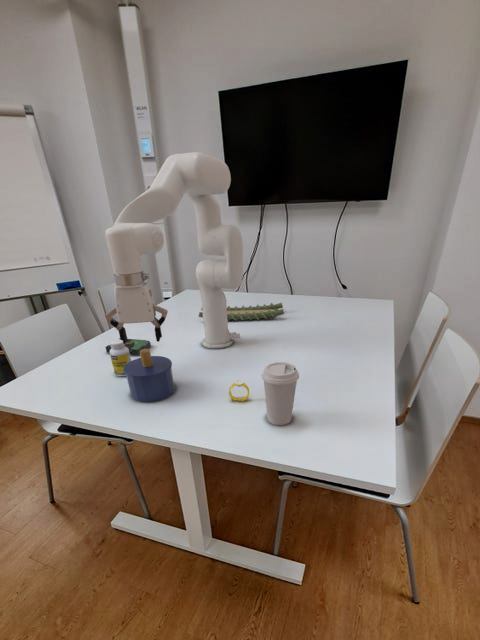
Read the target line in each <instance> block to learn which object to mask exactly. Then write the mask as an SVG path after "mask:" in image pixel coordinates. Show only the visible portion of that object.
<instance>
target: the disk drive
mask: <svg viewBox="0 0 480 640" xmlns="http://www.w3.org/2000/svg"><path fill="white" fill-rule="evenodd" d="M118 339H120V337H119V338H118ZM127 339H128V340H127V342H126V344H125V345H124V346H125V347H127V348H128V349H129V353H130V356H141V355H140V350H142V349H150V348H151V346H152V343H151V341H150V340H147V339H136V338H127ZM111 349H112V347H111V346H110V344H108V345H106V346H105V351H106V353H108V354H110V350H111Z"/></svg>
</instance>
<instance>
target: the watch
mask: <svg viewBox="0 0 480 640" xmlns="http://www.w3.org/2000/svg"><path fill="white" fill-rule="evenodd" d="M233 387H237V388H240V387H243V388H245V389H246V391H247V394H246V396H244V397H235V396H234V395H233V394H232V391H231V390H232V388H233ZM228 395H229V397H230V399H232V400H233V401H238V402H244V401H247V399H248V398H249V397H250V387H249V386H248V385H247V384H246V383H245V382H244V380H242V379H241V380H239V379H238V380H234V383H232V384H231V385H230V386H229V389H228Z"/></svg>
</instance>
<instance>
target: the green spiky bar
mask: <svg viewBox="0 0 480 640" xmlns="http://www.w3.org/2000/svg"><path fill="white" fill-rule="evenodd" d="M282 315H285V310H284V305H283V302H279V303H275V304H274V303H273V302H270V304H269V305H266V304H265V303H264V304H263V305H259V304H256V306H252V305H249V306H245V305H242V306H241V307H238V306H237V305H236V306H234V307H231V306H230V305H228V306H227V320H228V322H230V321H231V320H234V321H235V322H237V321H238V320H241V321H243V322H244V321H246V320H250V321H253V319H255V320H256V319H257V320H259V321H260V320H261V319H263V318H264V319H266V320H268V319H269V318H273V319H275V318H276V317H279V316H282ZM198 317H199V318H203V311H202V307H201V308H200V311H199V312H198Z"/></svg>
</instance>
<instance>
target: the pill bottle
mask: <svg viewBox="0 0 480 640" xmlns="http://www.w3.org/2000/svg"><path fill="white" fill-rule="evenodd" d="M109 345H110V346H111V347H112V349H111V350H110V353H109V356H110V357H109V358H110V360H111V364H112V369H113V372H114V375H116V376H118V377H127V376H126V374H125V373H124V370H123V369H124V366H125V365H126V364H127V363H129V362H130V361H132V358H131V355H130V353H129V349H128V348H127V347H125V346H124V345H125V344H123V340H121V339H119V338H117V339H112V340H110V342H109Z"/></svg>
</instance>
